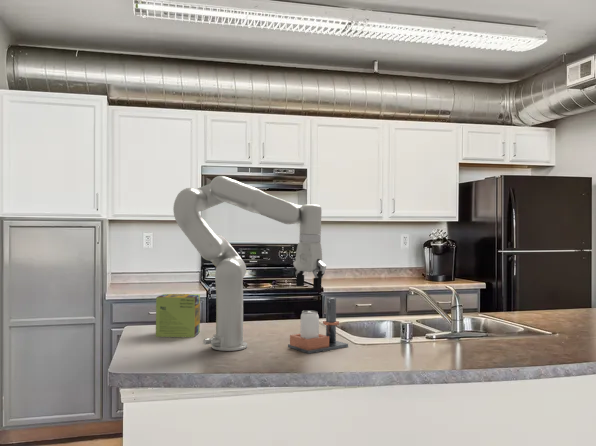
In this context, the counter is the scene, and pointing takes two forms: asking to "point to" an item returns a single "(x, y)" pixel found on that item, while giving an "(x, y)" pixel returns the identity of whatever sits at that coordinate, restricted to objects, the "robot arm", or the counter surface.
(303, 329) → the can
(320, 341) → the grey and orange stand
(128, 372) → the counter surface
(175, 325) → the protein box
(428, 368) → the counter surface
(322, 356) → the counter surface
